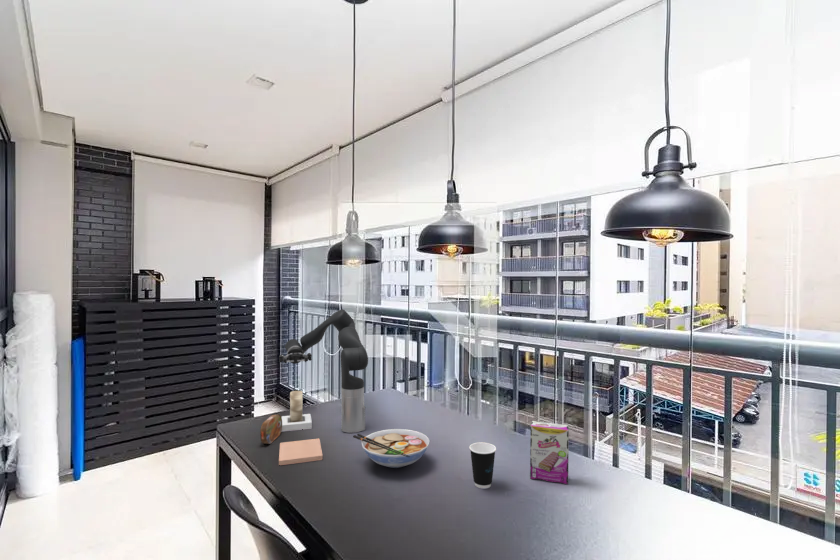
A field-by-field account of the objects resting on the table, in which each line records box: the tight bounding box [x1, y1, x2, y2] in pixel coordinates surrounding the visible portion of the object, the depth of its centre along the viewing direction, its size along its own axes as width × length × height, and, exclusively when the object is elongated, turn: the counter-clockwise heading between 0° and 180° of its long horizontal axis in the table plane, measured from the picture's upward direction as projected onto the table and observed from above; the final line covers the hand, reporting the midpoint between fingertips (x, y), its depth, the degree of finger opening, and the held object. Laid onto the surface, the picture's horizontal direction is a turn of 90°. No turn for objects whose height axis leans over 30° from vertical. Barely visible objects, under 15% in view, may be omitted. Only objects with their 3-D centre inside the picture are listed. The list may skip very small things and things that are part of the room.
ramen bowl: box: [352, 428, 431, 469], centre depth 135 cm, size 25×23×8 cm
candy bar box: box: [529, 420, 570, 485], centre depth 124 cm, size 11×5×16 cm, turn 71°
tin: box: [259, 414, 282, 445], centre depth 156 cm, size 15×3×8 cm, turn 177°
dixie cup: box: [469, 441, 497, 490], centre depth 120 cm, size 8×8×11 cm
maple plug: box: [289, 390, 303, 423], centre depth 171 cm, size 5×5×14 cm
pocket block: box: [281, 413, 313, 433], centre depth 171 cm, size 12×12×2 cm
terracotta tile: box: [278, 438, 324, 466], centre depth 143 cm, size 14×16×2 cm
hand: (295, 360), depth 182 cm, fingers open, 8 cm apart
